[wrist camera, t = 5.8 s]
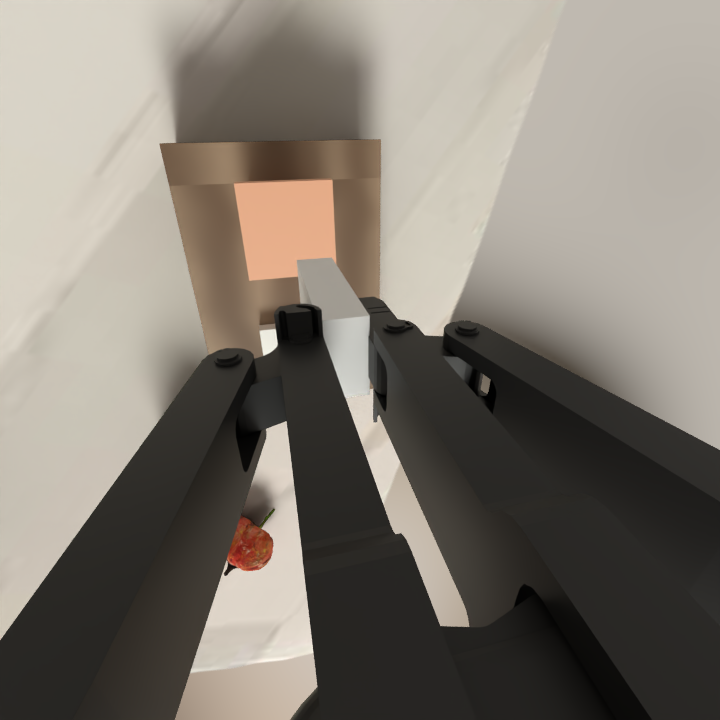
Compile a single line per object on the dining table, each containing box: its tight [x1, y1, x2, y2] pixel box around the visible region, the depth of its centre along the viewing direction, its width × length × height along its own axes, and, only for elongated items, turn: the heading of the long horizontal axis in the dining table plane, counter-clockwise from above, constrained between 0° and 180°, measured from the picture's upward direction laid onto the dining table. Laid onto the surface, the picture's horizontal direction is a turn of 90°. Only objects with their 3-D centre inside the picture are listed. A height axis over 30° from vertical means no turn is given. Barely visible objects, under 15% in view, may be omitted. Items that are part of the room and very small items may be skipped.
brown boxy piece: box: [160, 140, 381, 389], centre depth 37 cm, size 16×23×7 cm
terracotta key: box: [234, 178, 336, 281], centre depth 31 cm, size 6×6×8 cm
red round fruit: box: [224, 509, 275, 576], centre depth 54 cm, size 7×7×10 cm
